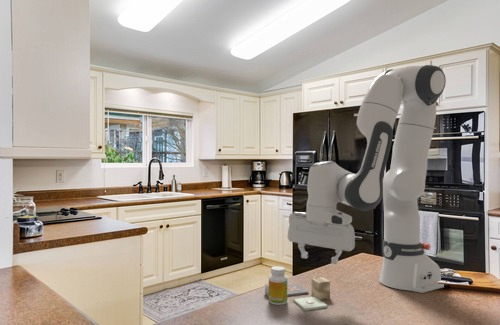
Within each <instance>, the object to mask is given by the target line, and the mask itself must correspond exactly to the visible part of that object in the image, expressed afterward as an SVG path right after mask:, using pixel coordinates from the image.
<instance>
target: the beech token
mask: <svg viewBox="0 0 500 325" xmlns="http://www.w3.org/2000/svg"><path fill="white" fill-rule="evenodd" d="M314 296H315V297H316V298H318V299H319V300H326V299H331V281H330V280H329V279H327V278H325V277H324V276H323V277H313V278H311V297H314Z"/></svg>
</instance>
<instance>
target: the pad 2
mask: <svg viewBox="0 0 500 325" xmlns="http://www.w3.org/2000/svg"><path fill="white" fill-rule="evenodd" d="M293 302H294V303H295V304H296V305H297V306H299V307H300V308H301V309H302V310H303V311H311V310H319V309H326V308H327V309H328V304H326V303H325V302H324V301H322V299H318V298H316V297H315V296H310V297H309V296H306V297H299V298H293Z"/></svg>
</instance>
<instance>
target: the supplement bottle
mask: <svg viewBox="0 0 500 325" xmlns="http://www.w3.org/2000/svg"><path fill="white" fill-rule="evenodd" d="M270 273H271V274H269V276H268V282H269V297H268V302H269V303H270V304H272V305H275V306H281V305H286V304H287V302H288V296H287V286H288V276H287V275H286V268H285V267H284V266H279V265H277V266H272V267H271V268H270Z"/></svg>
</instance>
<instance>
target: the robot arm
mask: <svg viewBox="0 0 500 325" xmlns="http://www.w3.org/2000/svg"><path fill="white" fill-rule="evenodd" d="M446 80H447V79H446V74H445V73H444V71H443V69H442V68H441V67H440V66H437V65H431V64H426V65H407V66H405V67H399V68H393V69H387V70H385V71H383V72H381V73H380V74H379V75H378V76H377V77H375V78H374V79H373V81H372V82H371V84H370V86H369V87H368V89H367V91H366V93H365V95H364V97H363V100H362V102H361V104H360V107H359V110H358V114H357V116H356V126H357V128H358V130H359V132H360V133H361V134H362V135H363V136H364V137H365V138H366V143H367V144H366V149H365V153H364V155H363V160H362V162H361V167H360V169H359V170H358V172H357V173H353V172H351V171H349V170H346V169H345V168H343V167H341V166H340V165H338V164H337V163H336V161H332V160H327V161H319V162H315V163H313V164H312V165H311V166H310V167H309V171H308V175H307V176H308V177H307V187H306V188H307V194H308V195H307V196H308V198H307V201H306V209H305V210H306V211H305V212H298V211H293V212H292V213H290V214H289V217H288V223H289V226H288V229H287V239H288V241H289V242H291V243H297V245H298V246H297V247H298V250H299V251H300V257H301V259H306V260H307V259H308V257H309V252H308V251H306V249H305V246H306V245H307V246H308V245H309V246H315V247H320V248H326V249H333V250H334V252H335V253H336V255H335V256H332V257H331V259H330V260H331V262H330V264H332V265H338V262H339V257H340V256H341V255H342V253H343V251H346V252H351V251H352V250H354V248H355V247H356V241H355V240H356V236H355V229H354V227H353V225H352V222H353V216H351V215H349V214H347V213H345V212H342V211H340V210H338V209H337V204H338V203H342V204H344V205H346V206H349V207H352V208H354V209H356V210H358V211H361V212H368V211H371V210H374V209H375V208H376V207H377V206H378V205H379V204H380V202H381V201H382V199H383V201H382V202H383V212H384V213H383V215H384V218H383V219H384V225H383V227H384V230H383V231H384V232H383V233H384V234H383V235H384V236H383V238H384V239H383V240H382V253H383V259H382V266H381V271H380V276H379V278H378V281H379V283H380V284H381V285H384V286H386V287H390V288H392V289H397V290H401V291H411V292H416V293H420V294H421V293H422V294H423V293H427V292H431V291H435V290H438V289H443V288H445V287H444V284H439V283H435V282H438V281H440V280H441V278H442V274H441V267H440V266H439V265H438V263H436V262H435V261H434V260H432V259H431V258H430V257H429V256H428V255H427V254H425V250H426V251H430V249H431V245H430V244H429V243H426V242H423V243H421V217H420V212H419V205H418V204H419V203H418V199H419V198H420V197H421V196H422V195H423V193H424V192H425V189H426V180H427V178H426V177H427V173H428V172H427V171H428V170H427V169H428V159H429V158H428V157H429V152H430V147H431V144H432V139H433V134H434V130H435V125H436V121H437V120H436V118H437V101H438V99H439V98H440V97H441V95H442V93H443V92H444V90H445V87H446ZM401 104H402V105H403V107H402V110H401V114H400V116H399V119H398V122H397V123H398V124H397V127H396V130H395V131H396V132H395V135H394V127H395V123H396V120H397V117H398V114H399V111H400V108H401V106H402V105H401ZM393 137H394V138H393ZM393 141H394V142H393ZM392 143H393V145H392ZM391 148H392V153H391V161H390V162H391V163H390V169H388V171H387V172H386V173H385V171H386V168H387V163H388V159H389V155H390V151H391Z"/></svg>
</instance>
